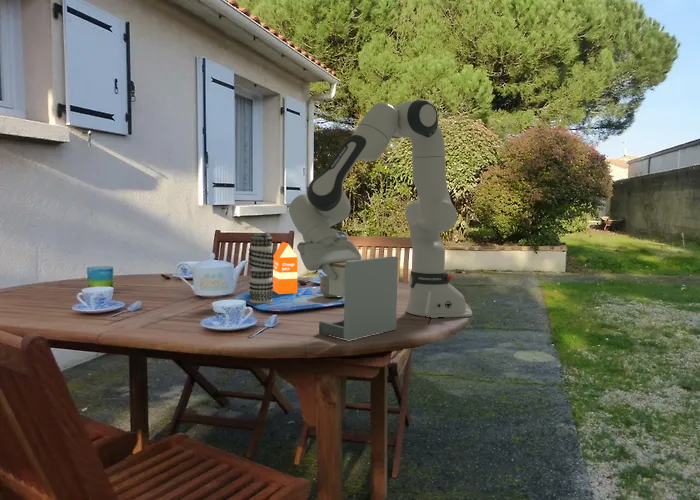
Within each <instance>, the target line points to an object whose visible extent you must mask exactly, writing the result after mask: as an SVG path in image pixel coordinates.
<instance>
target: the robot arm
mask: <svg viewBox="0 0 700 500" xmlns="http://www.w3.org/2000/svg"><path fill="white" fill-rule="evenodd" d="M354 130H355V131H354V132H353V134H352V135H351V136H349V137H348V138H347V139H346V140H345V141H344V142H343V143H342V145H341V146H340V147H339V149H338V150H337V152H336V153H335V154H334V156H333V157H332V158H331V160H330V161H329V163H328V164H327V165H326V167H324V169H323V171H321V172H320V173H319V174H318V175H317V176H315V177H314V178H313V179H312V180H311V181H310V183H309V184H308V187H307V191H306V194H303V193H302V194H300V195H297V196H296V197H294V199H293V200H292V201H291V203H290V204H289V208H288V212H289V216H290V218H291V221H292V223H293V224H294V227H295V228H296V230H297V231H298V232H299V233H300V234H301V236H302V239H303V241H301V242H299V243H298V244H297V246H296V248H297V251H298V252H299V255H300V258H301V261H302V263H303V265H304V267H305V269H306V270H308V271H309V272H314V271H322V272H323V273H324V274H325V275H328V276H329V277H330V278H331V280H337V278H338V275H337V273H336V272H333V271H332V270H331V269H330V266H329V264H331V263H340V262H345V261H351V260H362V255H361V253H360V251H359V249H358V248H357V247H356V246H355V244H354V242H352V240H350V236H349V235H348V233H347V232H345V231H341V230H338V229H335V228H332V227H334V226H336V225H338V224H339V223H342V222H343V221H345V220H347V218H348V217H349V216H350V213H351V210H352V206H351V202H350V201H349V198H348V197H347V195H346V193H345V192H344V189H343V187H344V186H343V185H344V182H345V181H344V180H345V178H347V176H348V175H349V173H350V172H351V170H352V169H353V167H354V166H355V164H357V162H358V161H363V162H366V163H367V162H368V163H370V162H374V161H377V160H379V159H380V157H381V156H382V155H383V154H384V152H385V150H386V149H387V147H388V145H389V144H390V142H391V139H400V138H409V140H410V141H411V145H412V150H411V161H412V182H413V185H414V186H415V189H416V192H417V196H418V199H416V200H413V201H412V202H411V203H409V204H408V205H407V207H406V209H405V213H404V215H405V219H406V222H407V224H408V228H409V235H410V240H411V250H412V252H411V253H412V255H411V256H412V257H411V261H412V262H411V270H410V275H409V288H410V291H409V298H408V301H407V306H406V307H405V308H406V309H405V312H406V313H407V314H411V315H415V316H420V317H425V316H426V317H425V318H429V317H431V318H430V319H439V318H438V317H444V318H461V317H462V318H464V317H472V316H473V312H472V310H471V309H470V308H468V307H467V306H466V300H465V296H464V295H463V294H462V293H461V292H460V291H459V289H457V288H456V287H454V286H453V285H452V284H450V282H453V280H454V275H453V274H449V273H447V272H446V271H445V264H446V263H445V262H446V261H445V260H446V249H445V247H444V244H443V241H442V238H441V233H444V232H447V231H449V230H452V229H453V227H455V226H456V224H457V220H458V212H457V209H456V207H455V206H454V204H453V202H452V200H451V196H450V193H449V188H448V183H447V175H446V173H447V172H446V171H447V170H446V169H447V168H446V146H445V139H444V136H443V131H442V128H441V127H440V126H439V116H438V111H437V108H436V107H435V105H434V104H433V103H432V102H431V101H430V100H427V99H416V100H410V101H404V102H402V103H400V104H397V105H390V104H389V103H386V102H377V103H375V104H374V105H372V107H371V108H370V109H369V110H368V111H367V112H366V113H365V115H364V116H363V118H362V119H361V120H360V122H359V124H358V125H357V127H356V129H354Z"/></svg>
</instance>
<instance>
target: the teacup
mask: <svg viewBox="0 0 700 500" xmlns="http://www.w3.org/2000/svg"><path fill="white" fill-rule="evenodd" d="M319 277H320V281H319V283H320V284H319V288H320V289H319V291H320V293H321V294H322V295H323V296H324V297H325V298H329V297H337V296H336V295H331V294H329V276H328V275H327V274H325V275H321V276H319Z"/></svg>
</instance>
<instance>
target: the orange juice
mask: <svg viewBox="0 0 700 500" xmlns="http://www.w3.org/2000/svg"><path fill="white" fill-rule="evenodd" d="M272 257H273V258H274V259H273V260H272V263H274V265H272V267H273V268H274V269H273V270H272V282H273V284H272V287H273V289H272V291H273V292H275V293H276V294H278V295H286V294H287V295H288V294H298V256H297V254H296V252H295V251H294V250H293V247H291V245H290V244H289V243H288V242H286V241H285V242H284V241H282V242H281V244H280V245H279V247H278V248H277V250H276V251H275V253H274V255H273V256H272Z"/></svg>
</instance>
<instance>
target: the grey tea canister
mask: <svg viewBox="0 0 700 500" xmlns="http://www.w3.org/2000/svg"><path fill="white" fill-rule="evenodd" d="M329 266H330V269H331V270H332V271H333V272H336V273H337V275H338V278H337V280H331V278H330V277H329V294H331V295H336V296H341V298H342V297H343V298H345V262H340V263H331V264H329Z"/></svg>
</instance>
